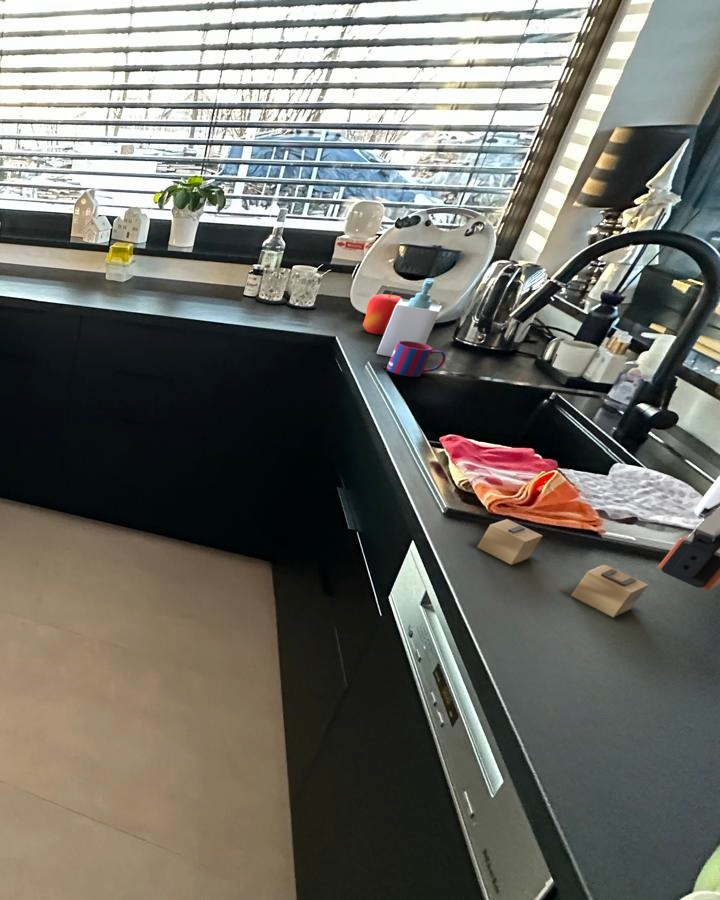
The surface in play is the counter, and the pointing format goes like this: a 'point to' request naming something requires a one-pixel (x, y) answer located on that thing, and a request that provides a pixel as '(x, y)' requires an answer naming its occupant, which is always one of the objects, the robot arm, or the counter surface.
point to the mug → (412, 359)
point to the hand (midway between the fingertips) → (692, 572)
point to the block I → (509, 541)
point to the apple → (380, 312)
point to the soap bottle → (410, 320)
